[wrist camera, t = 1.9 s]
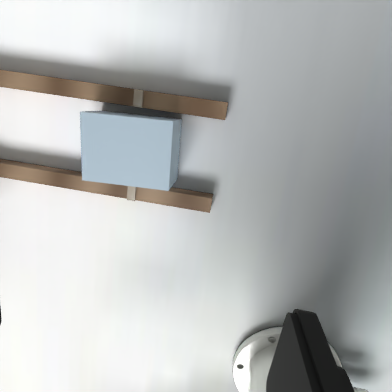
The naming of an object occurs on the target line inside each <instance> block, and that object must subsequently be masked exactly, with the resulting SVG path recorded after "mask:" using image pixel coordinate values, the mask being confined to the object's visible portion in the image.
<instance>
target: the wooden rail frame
mask: <svg viewBox="0 0 392 392" xmlns="http://www.w3.org/2000/svg"><path fill="white" fill-rule="evenodd" d="M0 87H6V88H13V89H19V90H26V91H33V92H40V93H46V94H53V95H60V96H67V97H73V98H80V99H87V100H94V101H100V102H107V103H114V104H121V105H127V106H133V107H140V108H148V109H154V110H161V111H168V112H175V113H181V114H188V115H195V116H202V117H208V118H215V119H222V120H225V118H226V112H227V106H228V102H221V101H214V100H207V99H200V98H193V97H186V96H179V95H172V94H165V93H158V92H151V91H144V90H138V89H130V88H123V87H117V86H110V85H103V84H96V83H89V82H82V81H75V80H68V79H61V78H54V77H47V76H40V75H33V74H26V73H19V72H12V71H5V70H0ZM0 177H4V178H10V179H15V180H21V181H27V182H33V183H39V184H45V185H50V186H56V187H62V188H68V189H74V190H80V191H86V192H91V193H97V194H103V195H109V196H115V197H121V198H127V200H132V201H135V200H138V201H144V202H150V203H156V204H162V205H167V206H173V207H179V208H185V209H191V210H197V211H203V212H208V213H210V210H211V204H212V198H213V194H210V193H204V192H198V191H192V190H186V189H180V188H174V187H171V188H170V190H169V191H165V190H157V189H149V188H141V187H132V186H124V185H116V184H108V183H100V182H92V181H84V180H82V172H77V171H71V170H65V169H59V168H53V167H47V166H41V165H35V164H29V163H23V162H17V161H11V160H5V159H0Z"/></svg>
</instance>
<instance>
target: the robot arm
mask: <svg viewBox="0 0 392 392" xmlns="http://www.w3.org/2000/svg"><path fill="white" fill-rule="evenodd" d="M0 324H1V308H0ZM233 378H234V381H235V384H236V386H237V388H238V390H239V392H368V391H367V390H365V389H361V388H356V387H354V388H353V387H352V384H351V382H350V380H349V377H348V375H347V373H346V372H345V370H344V369H343V368H342V365H341V362H340V360H339V358H338V355H337V353H336V351H335V350H334V349H333V347H332V346H331V345H330V344H329V343H328V342H327V339H326V337H325V334H324V332H323V329H322V327H321V324H320V322H319V319H318V317H317V315H316V314H315V313H314V312H309V311H304V310H299V309H295V310H294V311H293V313H287V315H286V318H285V321H284V324H283V327H274V328H269V329H265V330H262V331H260V332H257V333H255V334H253V335H252V336H250V337H249V338H247V339H246V340H245V341H244V342H243V343H242V344H241V345H240V346H239V348H238V350H237V351H236V353H235V356H234V360H233Z"/></svg>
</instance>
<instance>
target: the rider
mask: <svg viewBox="0 0 392 392" xmlns="http://www.w3.org/2000/svg"><path fill="white" fill-rule="evenodd" d="M181 122H182V119H177V118H168V117H158V116H148V115H138V114H129V113H119V112H109V111H85V112H80V128H81V160H82V180H84V181H92V182H100V183H108V184H116V185H124V186H132V187H141V188H149V189H157V190H165V191H169V190H170V188H171V187H172V186H173V184H174V183H175V182H176V180H177V176H178V162H179V149H180V135H181Z"/></svg>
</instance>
